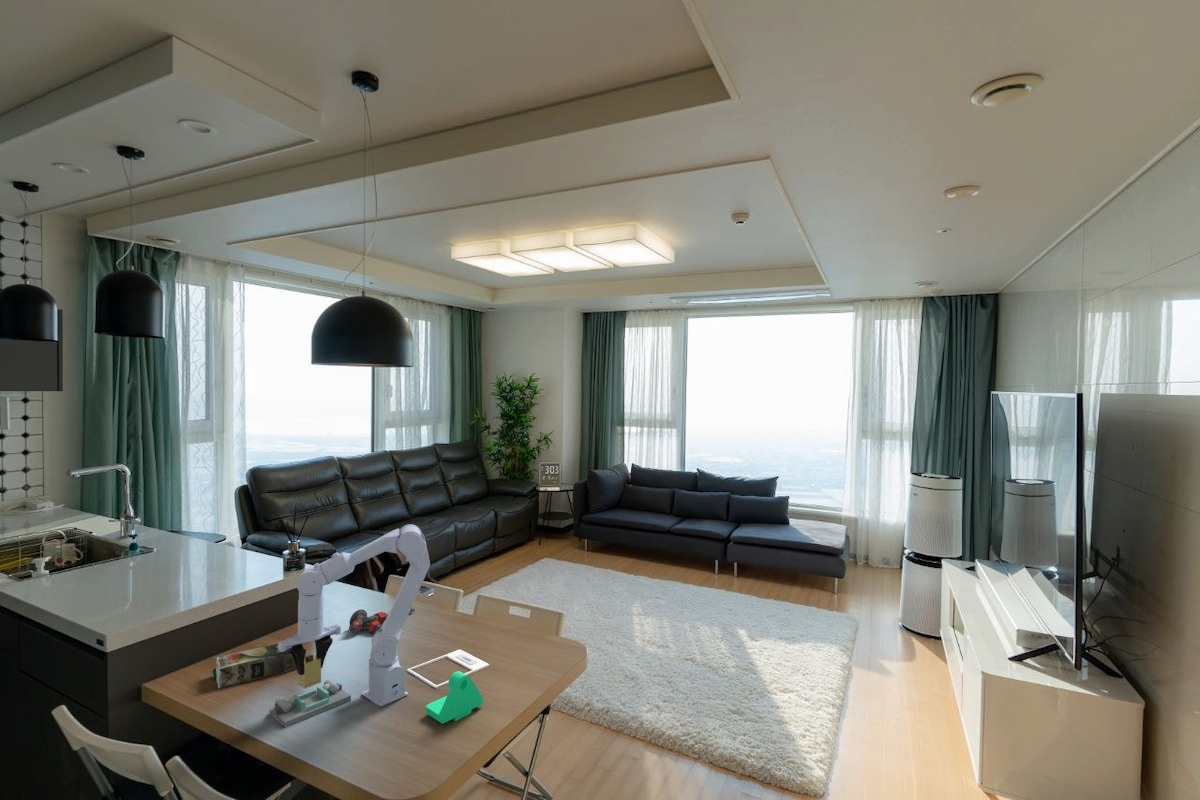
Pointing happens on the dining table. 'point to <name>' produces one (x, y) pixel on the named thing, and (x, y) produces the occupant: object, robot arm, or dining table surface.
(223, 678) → the juice carton
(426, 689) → the dining table surface
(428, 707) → the camera mount
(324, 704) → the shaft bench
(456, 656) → the photo frame
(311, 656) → the coupling block
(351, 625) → the black red power tool
